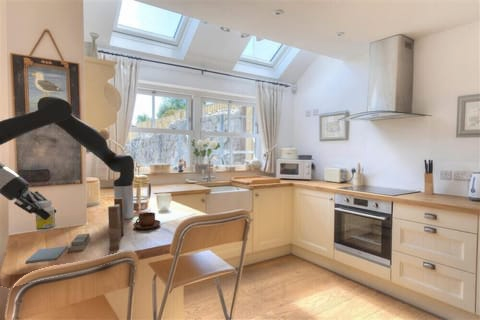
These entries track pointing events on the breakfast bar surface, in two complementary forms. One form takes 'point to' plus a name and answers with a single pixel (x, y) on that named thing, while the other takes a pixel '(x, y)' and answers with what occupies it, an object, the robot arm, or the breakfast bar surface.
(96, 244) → the breakfast bar surface
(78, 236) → the offcut rack
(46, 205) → the supplement bottle
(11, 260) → the breakfast bar surface
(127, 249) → the breakfast bar surface
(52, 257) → the grey mat
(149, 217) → the cup and saucer
